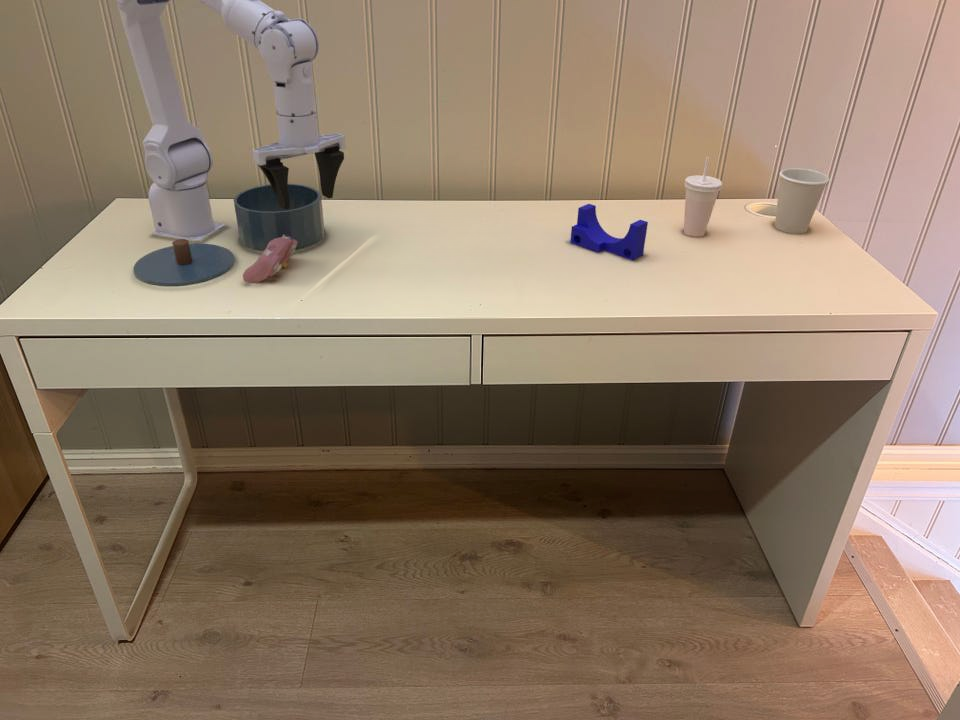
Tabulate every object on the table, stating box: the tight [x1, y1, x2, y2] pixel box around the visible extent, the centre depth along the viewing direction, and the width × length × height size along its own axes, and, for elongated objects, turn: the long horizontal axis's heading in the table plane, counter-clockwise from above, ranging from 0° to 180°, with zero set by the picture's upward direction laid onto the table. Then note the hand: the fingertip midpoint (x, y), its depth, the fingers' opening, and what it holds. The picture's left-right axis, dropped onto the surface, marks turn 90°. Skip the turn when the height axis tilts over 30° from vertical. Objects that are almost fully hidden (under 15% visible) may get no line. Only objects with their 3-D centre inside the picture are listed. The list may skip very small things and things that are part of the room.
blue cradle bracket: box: [569, 203, 649, 261], centre depth 124 cm, size 12×4×6 cm, turn 47°
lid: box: [133, 238, 235, 287], centre depth 115 cm, size 15×15×4 cm
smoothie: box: [683, 156, 723, 238], centre depth 129 cm, size 6×6×14 cm
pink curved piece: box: [242, 235, 298, 284], centre depth 114 cm, size 10×5×7 cm, turn 169°
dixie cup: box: [774, 167, 830, 234], centre depth 133 cm, size 8×8×10 cm
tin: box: [233, 183, 326, 252], centre depth 125 cm, size 14×14×7 cm
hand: (306, 201), depth 114 cm, fingers open, 7 cm apart
